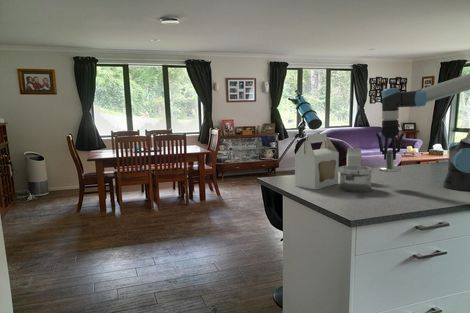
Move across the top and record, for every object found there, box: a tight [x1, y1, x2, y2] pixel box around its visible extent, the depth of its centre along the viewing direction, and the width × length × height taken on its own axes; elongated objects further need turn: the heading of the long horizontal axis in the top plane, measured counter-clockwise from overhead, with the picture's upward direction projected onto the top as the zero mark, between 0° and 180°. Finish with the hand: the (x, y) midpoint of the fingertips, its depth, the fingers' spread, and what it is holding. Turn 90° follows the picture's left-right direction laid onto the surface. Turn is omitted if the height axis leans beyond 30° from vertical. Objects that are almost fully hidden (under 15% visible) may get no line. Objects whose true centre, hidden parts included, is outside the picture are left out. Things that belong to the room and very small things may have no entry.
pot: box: [338, 165, 374, 193], centre depth 173 cm, size 16×22×11 cm
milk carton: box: [346, 147, 363, 166], centre depth 194 cm, size 7×7×19 cm
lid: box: [378, 149, 402, 173], centre depth 174 cm, size 10×10×10 cm
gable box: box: [294, 132, 340, 191], centre depth 187 cm, size 22×13×28 cm, turn 131°
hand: (389, 166), depth 174 cm, fingers closed on lid, 2 cm apart
